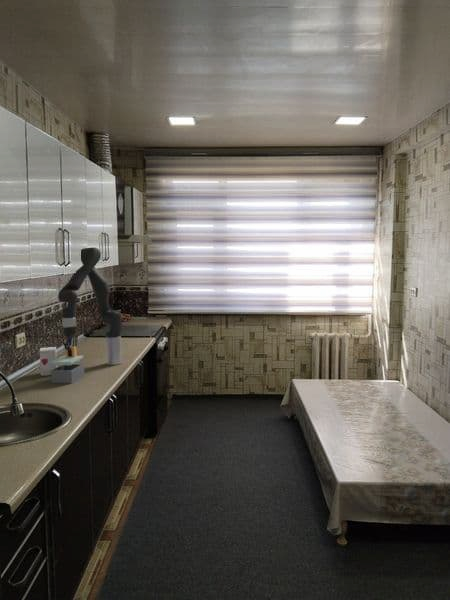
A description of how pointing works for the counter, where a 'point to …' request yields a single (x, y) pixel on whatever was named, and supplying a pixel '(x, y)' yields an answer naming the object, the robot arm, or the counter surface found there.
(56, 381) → the tub
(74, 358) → the lid
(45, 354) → the supplement box
